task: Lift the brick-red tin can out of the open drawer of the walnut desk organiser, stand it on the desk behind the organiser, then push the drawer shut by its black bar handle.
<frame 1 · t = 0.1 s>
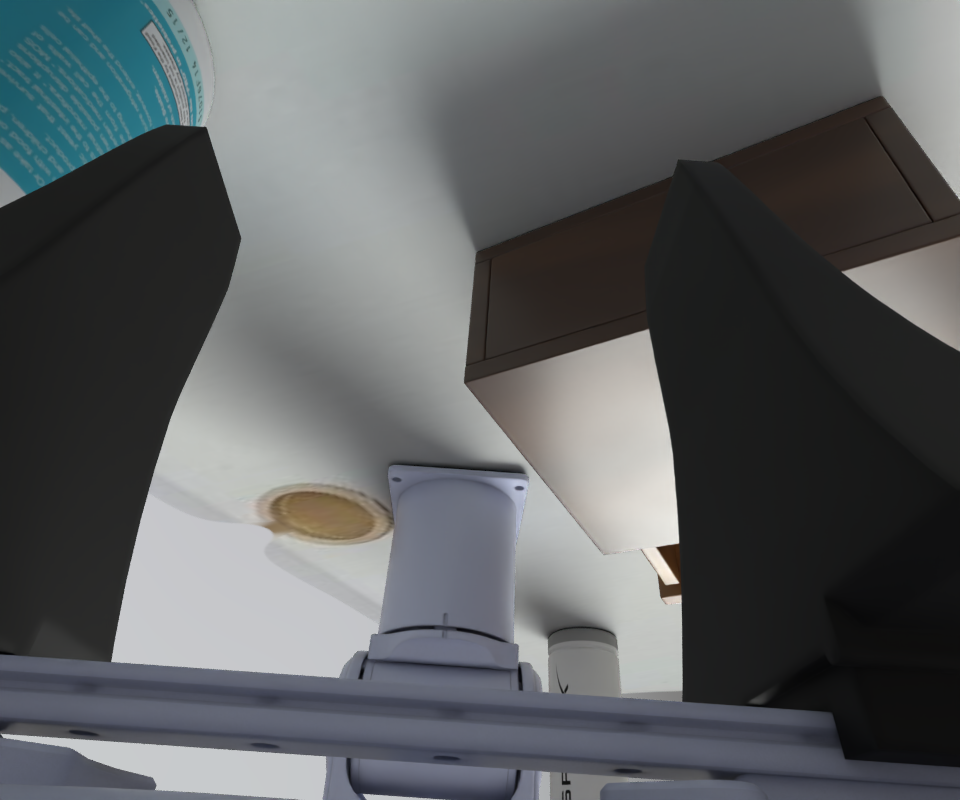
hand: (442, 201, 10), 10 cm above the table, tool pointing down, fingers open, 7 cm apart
pill bottle: (91, 22, 18), on the table
organiser: (697, 316, 25), on the table
travel mug: (584, 636, 57), on the table
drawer: (760, 517, 31), point 3 cm above the table, slide at 8.0 cm, touching can
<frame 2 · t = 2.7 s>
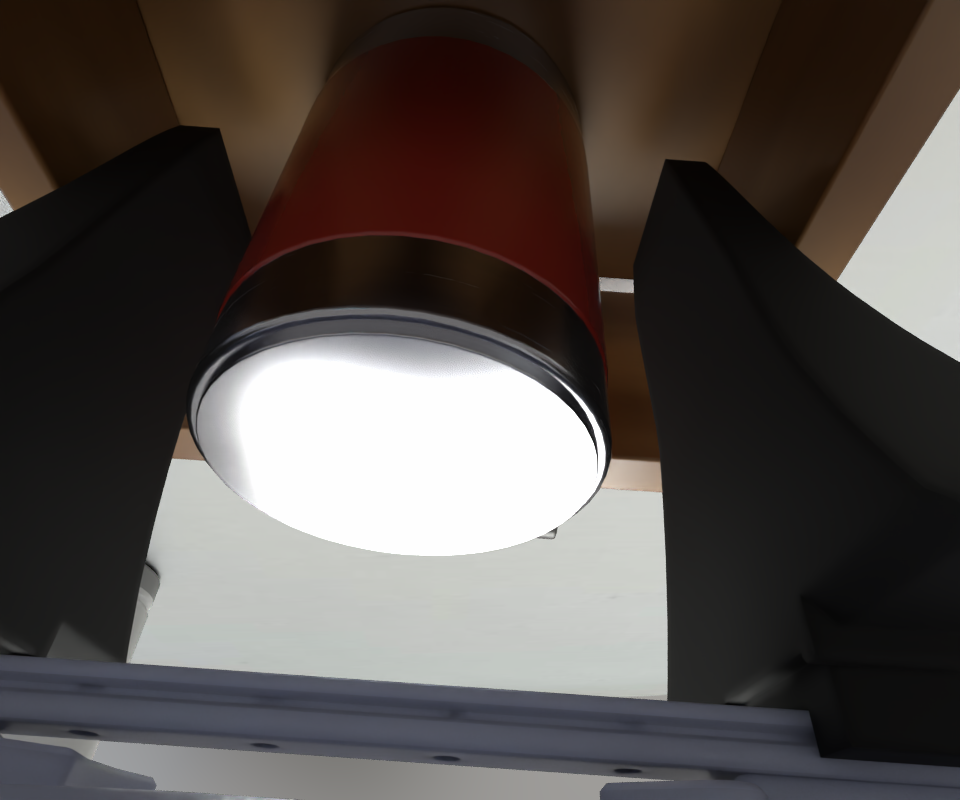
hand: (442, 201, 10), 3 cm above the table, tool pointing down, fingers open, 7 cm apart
can: (450, 151, 11), point 2 cm above the table, touching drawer
travel mug: (102, 564, 32), on the table
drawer: (443, 241, 11), point 3 cm above the table, slide at 8.0 cm, touching can
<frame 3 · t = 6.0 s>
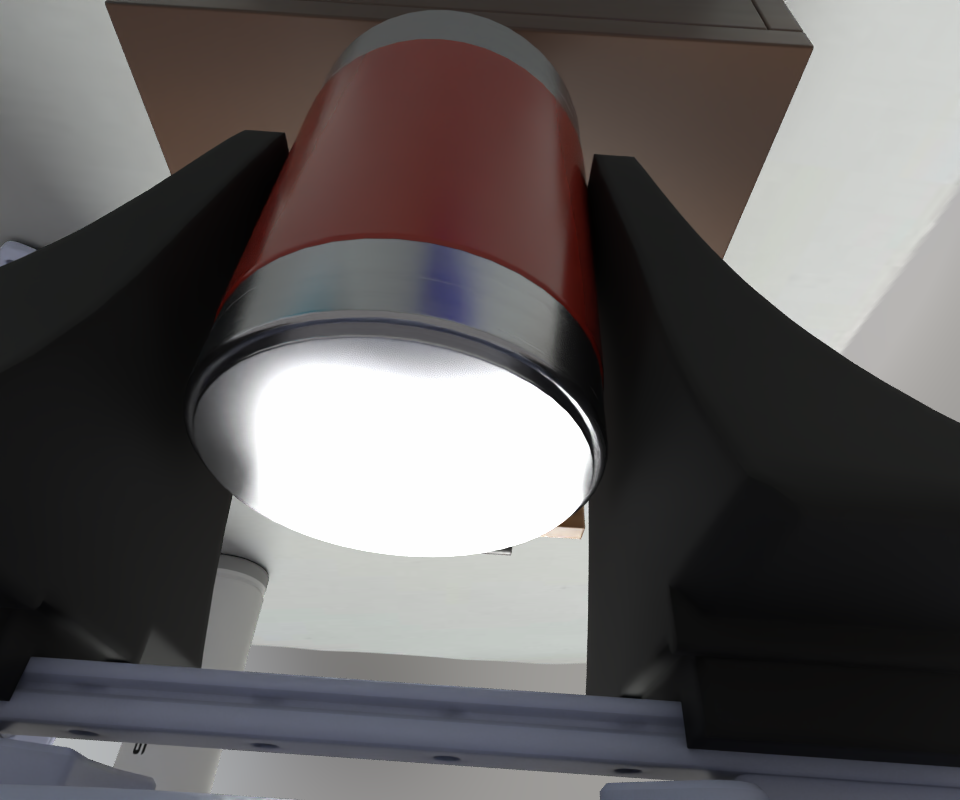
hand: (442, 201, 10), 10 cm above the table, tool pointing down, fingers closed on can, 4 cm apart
can: (448, 153, 11), point 9 cm above the table, touching gripper
organiser: (470, 165, 21), on the table
travel mug: (232, 567, 49), on the table
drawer: (459, 443, 28), point 3 cm above the table, slide at 8.0 cm
when the fingers open (1 cm above the table, at t = 9.1 s): can stays where it is, on the table.
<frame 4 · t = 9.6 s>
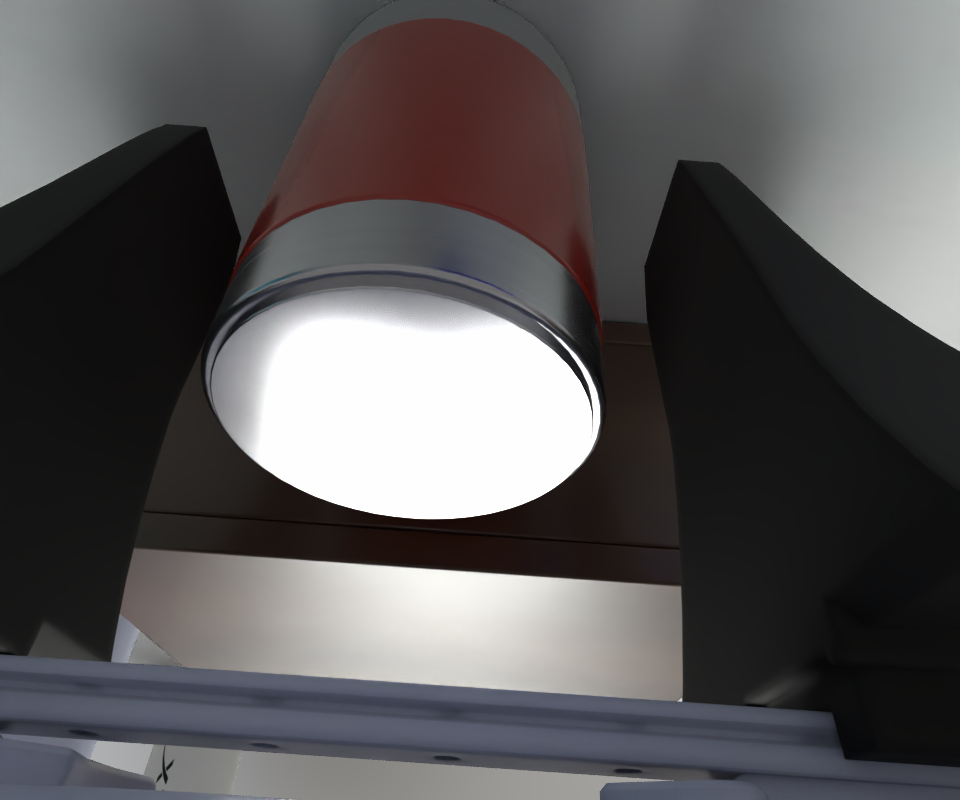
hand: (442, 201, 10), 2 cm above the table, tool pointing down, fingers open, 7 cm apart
can: (451, 134, 11), on the table
organiser: (450, 463, 20), on the table
travel mug: (217, 695, 48), on the table
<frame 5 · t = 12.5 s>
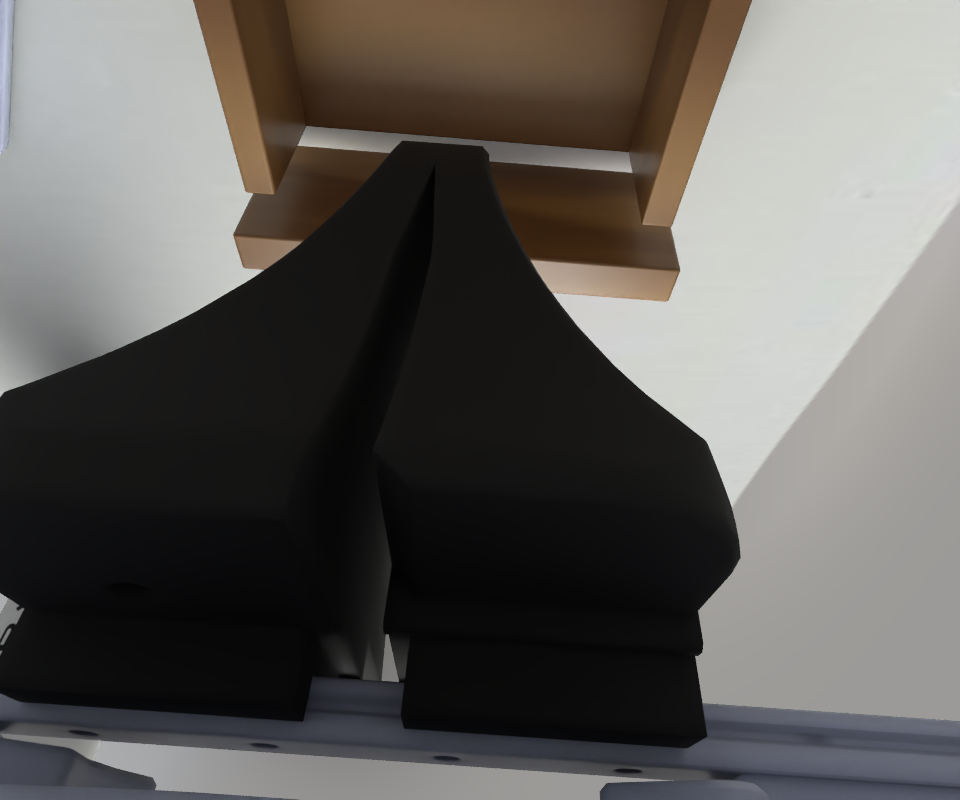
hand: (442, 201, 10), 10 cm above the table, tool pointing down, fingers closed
travel mug: (153, 458, 37), on the table
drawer: (467, 105, 16), point 3 cm above the table, slide at 8.0 cm
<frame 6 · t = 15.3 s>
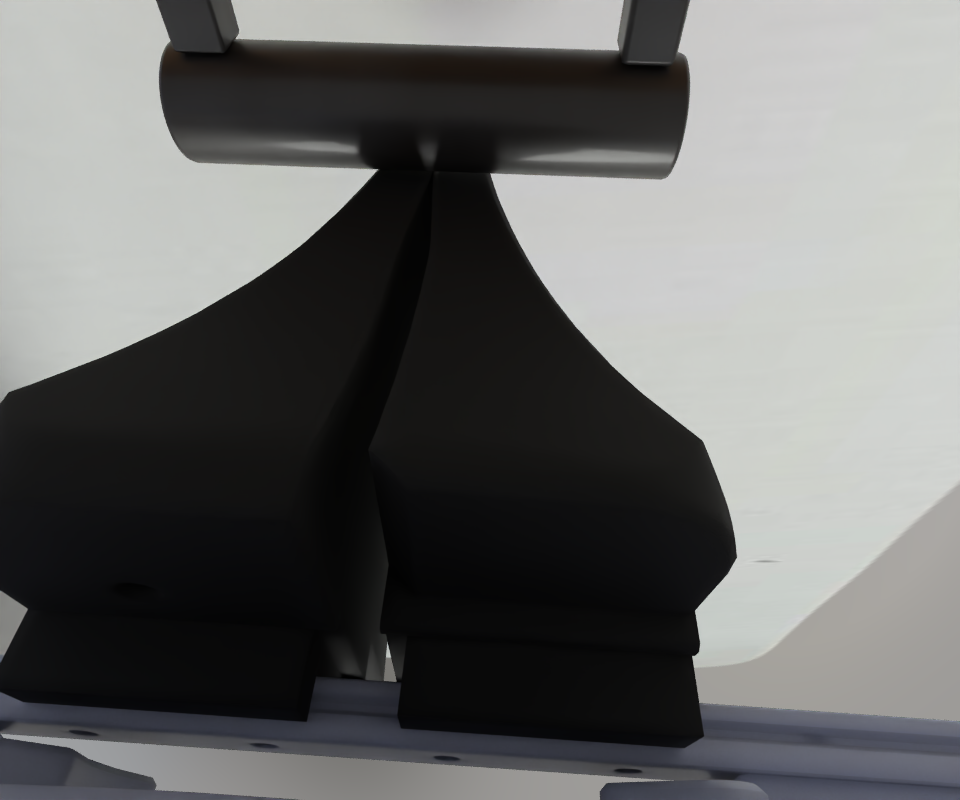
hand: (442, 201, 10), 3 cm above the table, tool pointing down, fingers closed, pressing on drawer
travel mug: (25, 490, 25), on the table
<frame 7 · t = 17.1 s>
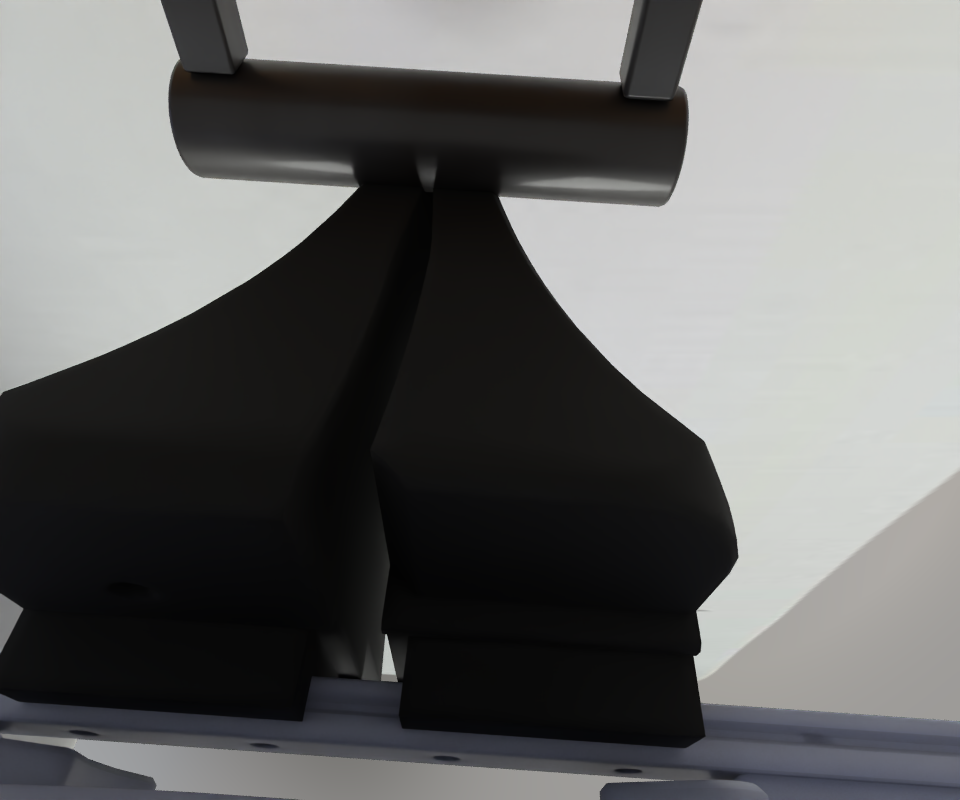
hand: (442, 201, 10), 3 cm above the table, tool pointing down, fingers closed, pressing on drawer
travel mug: (84, 547, 30), on the table
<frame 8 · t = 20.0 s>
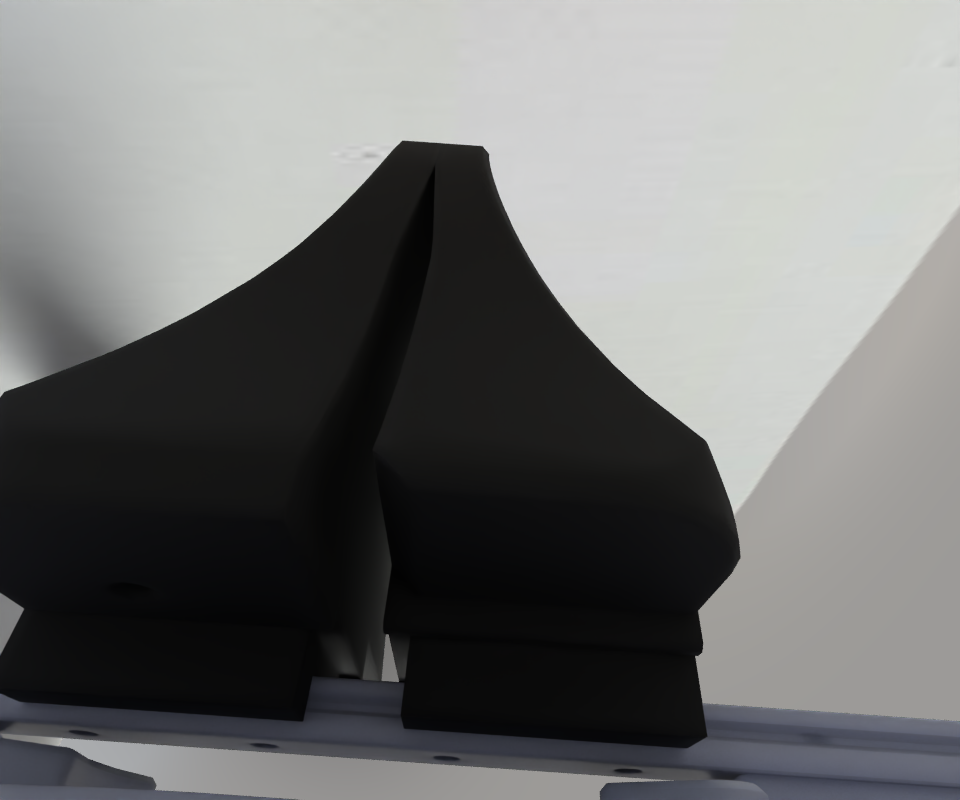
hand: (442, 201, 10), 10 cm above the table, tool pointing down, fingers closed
travel mug: (133, 420, 34), on the table
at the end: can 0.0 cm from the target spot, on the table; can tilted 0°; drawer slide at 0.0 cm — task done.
